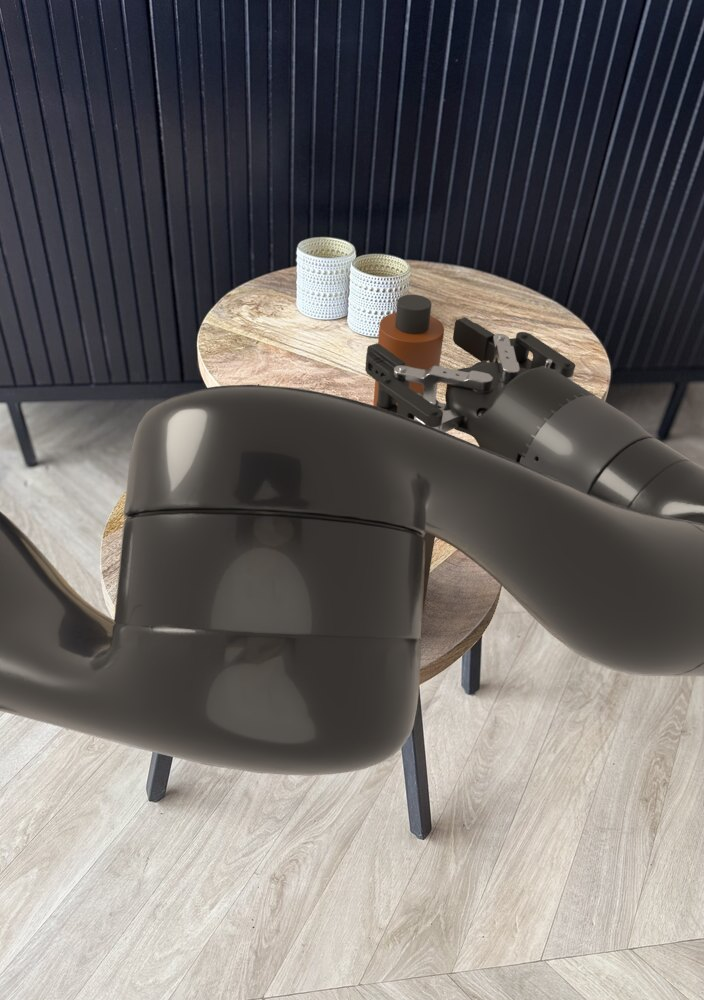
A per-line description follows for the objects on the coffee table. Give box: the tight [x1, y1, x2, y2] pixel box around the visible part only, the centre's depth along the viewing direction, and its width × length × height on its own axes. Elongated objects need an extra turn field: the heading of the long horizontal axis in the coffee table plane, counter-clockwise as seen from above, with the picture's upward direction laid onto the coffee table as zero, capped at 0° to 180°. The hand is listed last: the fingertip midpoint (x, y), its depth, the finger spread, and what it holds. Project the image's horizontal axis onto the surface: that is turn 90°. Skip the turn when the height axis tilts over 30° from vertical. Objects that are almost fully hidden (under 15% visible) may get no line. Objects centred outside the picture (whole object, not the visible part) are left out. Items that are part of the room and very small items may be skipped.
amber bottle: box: [372, 294, 445, 406], centre depth 65 cm, size 5×5×12 cm
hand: (414, 341), depth 62 cm, fingers open, 8 cm apart
